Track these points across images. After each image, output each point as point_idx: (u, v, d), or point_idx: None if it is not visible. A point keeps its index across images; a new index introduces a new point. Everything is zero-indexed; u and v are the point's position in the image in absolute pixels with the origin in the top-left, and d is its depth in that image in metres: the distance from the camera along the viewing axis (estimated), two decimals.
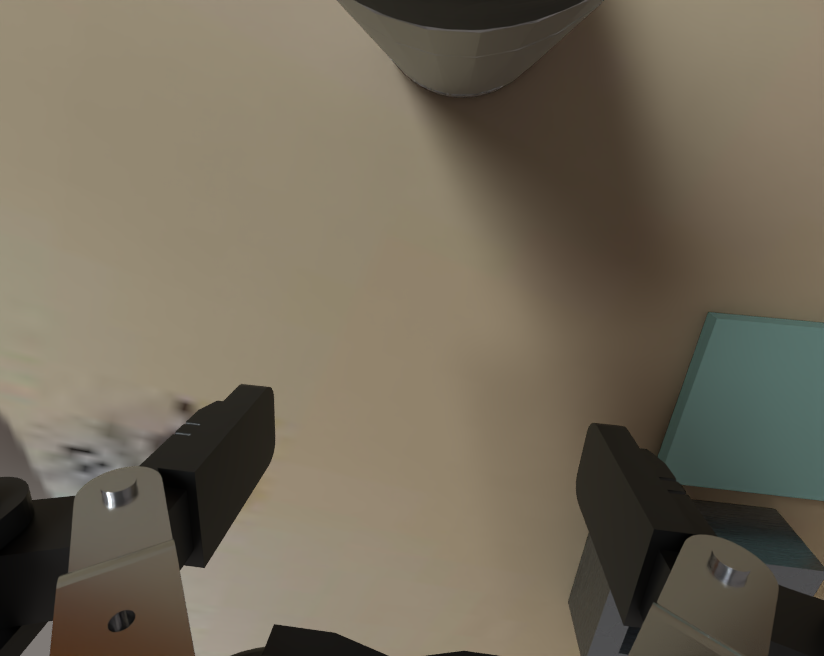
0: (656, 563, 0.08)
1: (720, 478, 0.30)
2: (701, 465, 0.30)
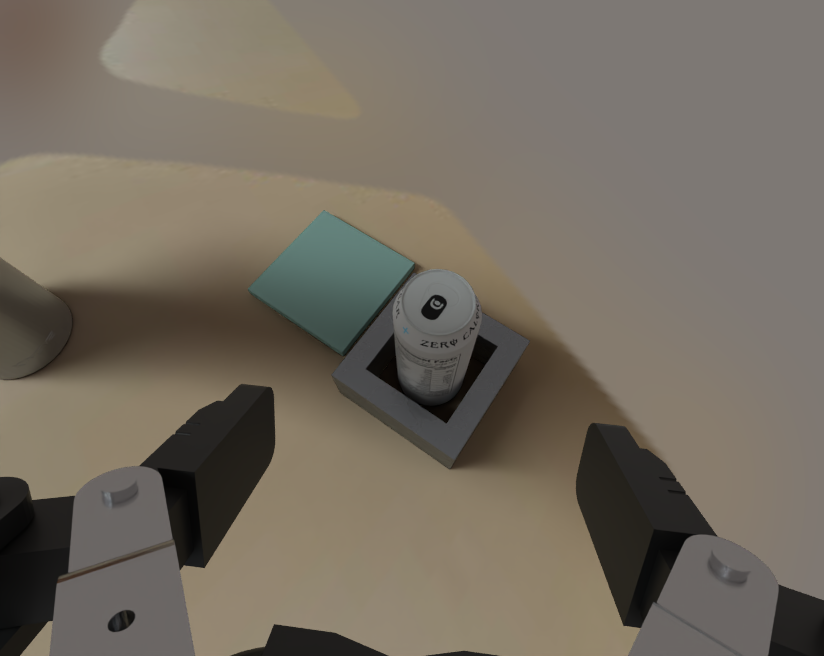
0: (656, 563, 0.08)
1: (359, 317, 0.44)
2: (342, 324, 0.44)
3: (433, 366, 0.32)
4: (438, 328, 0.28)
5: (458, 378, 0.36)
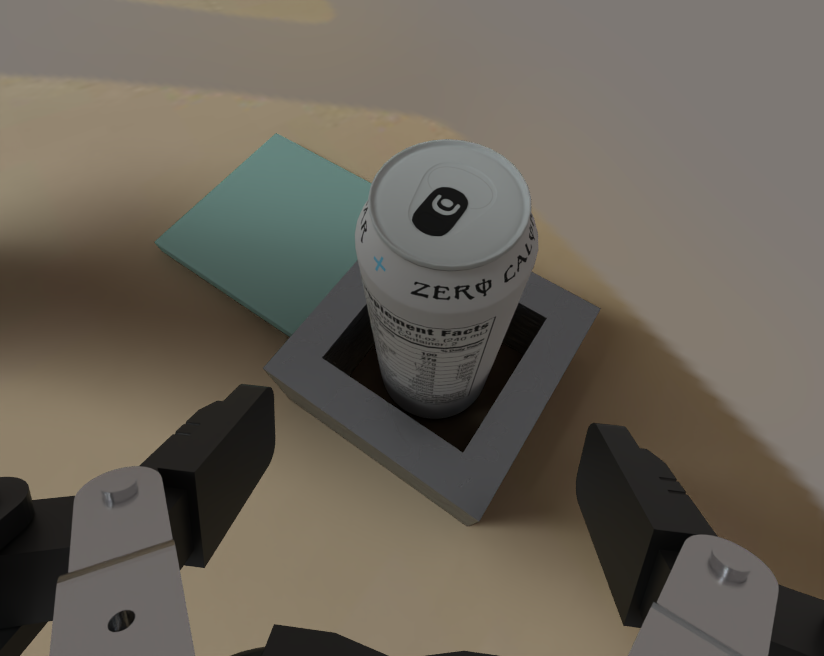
0: (656, 563, 0.08)
1: (322, 281, 0.29)
2: (296, 292, 0.28)
3: (439, 343, 0.16)
4: (451, 253, 0.13)
5: (483, 371, 0.20)
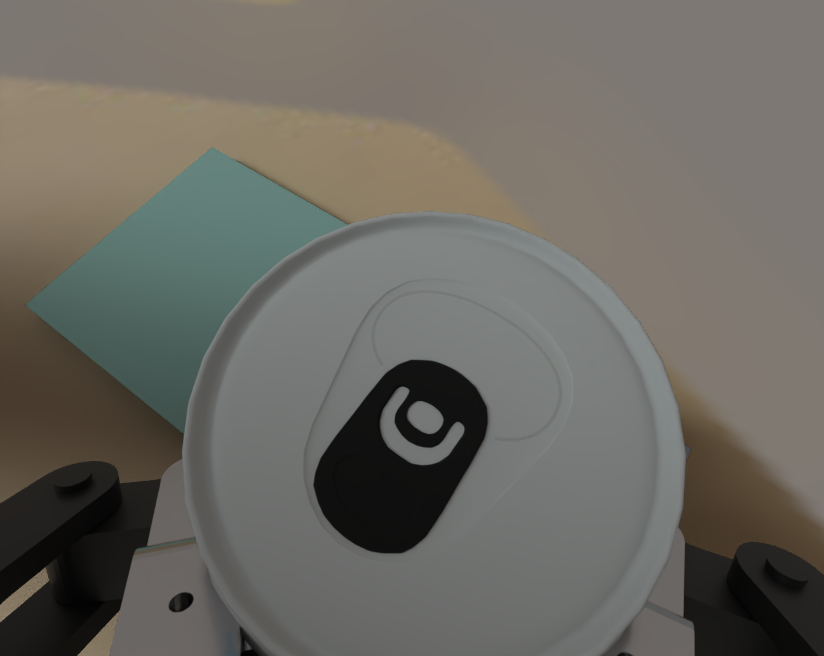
0: None
1: None
2: None
3: None
4: (434, 638, 0.04)
5: None
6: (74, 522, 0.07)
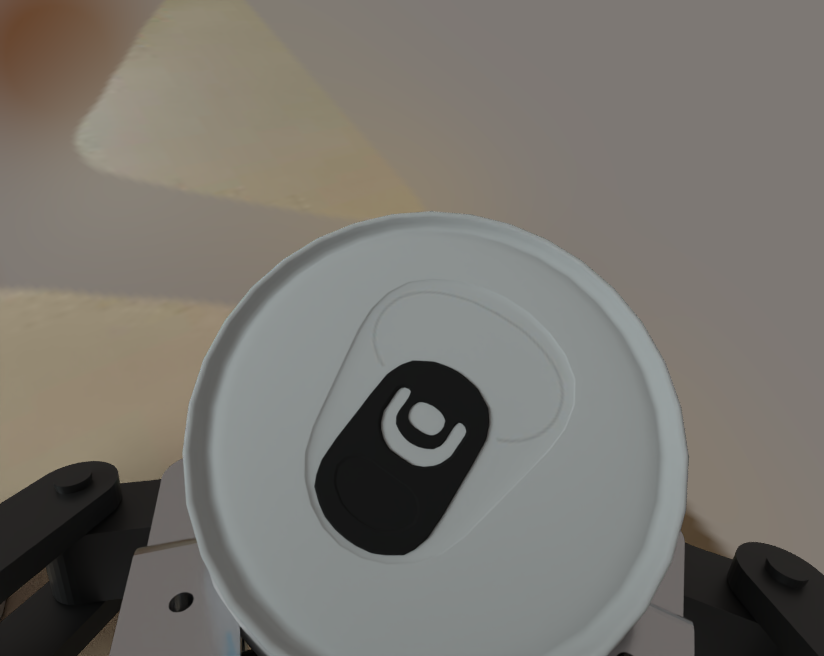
0: None
1: None
2: None
3: None
4: (436, 641, 0.04)
5: None
6: (74, 522, 0.07)
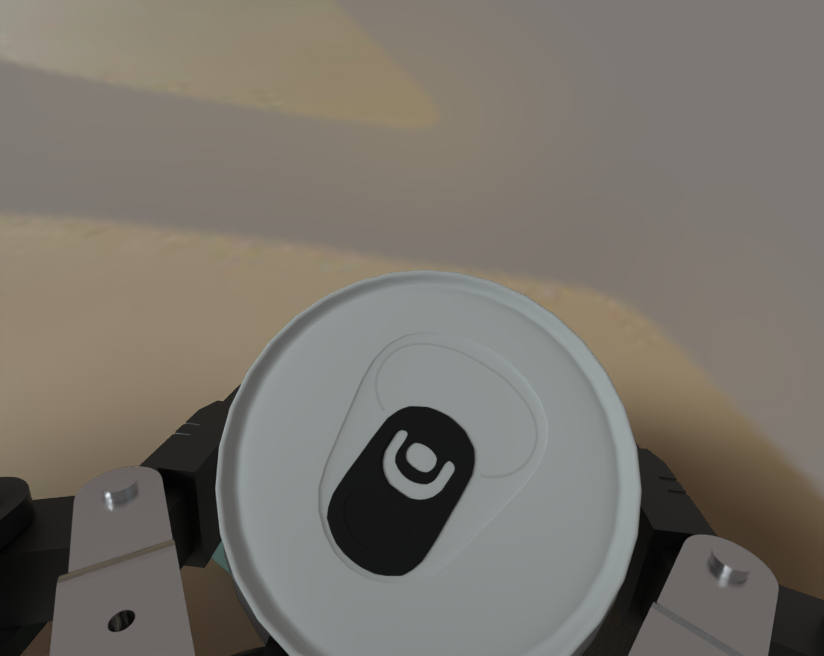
0: (656, 563, 0.08)
1: None
2: None
3: None
4: (429, 647, 0.04)
5: None
6: None
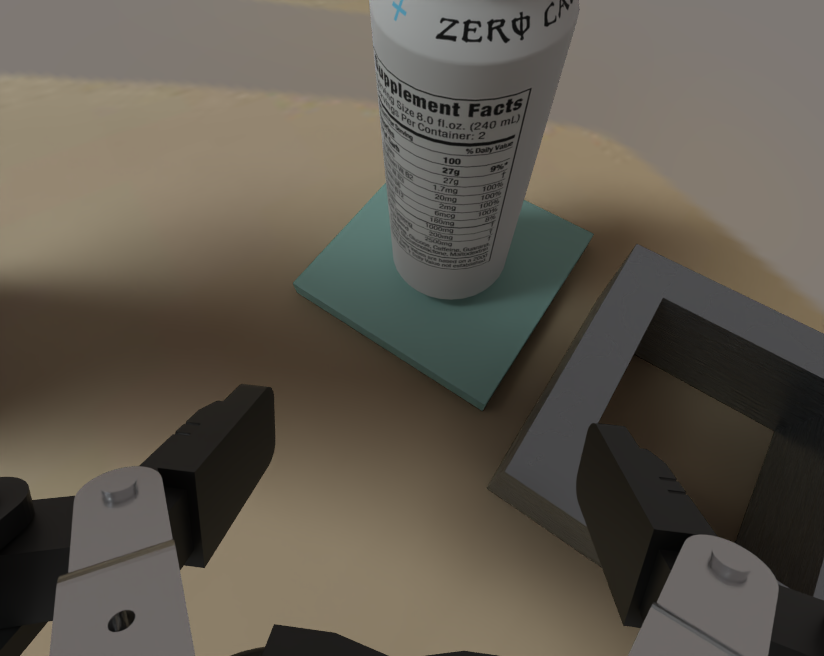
0: (656, 563, 0.08)
1: (509, 334, 0.23)
2: (478, 348, 0.23)
3: (465, 135, 0.14)
4: None
5: (507, 218, 0.18)
6: None
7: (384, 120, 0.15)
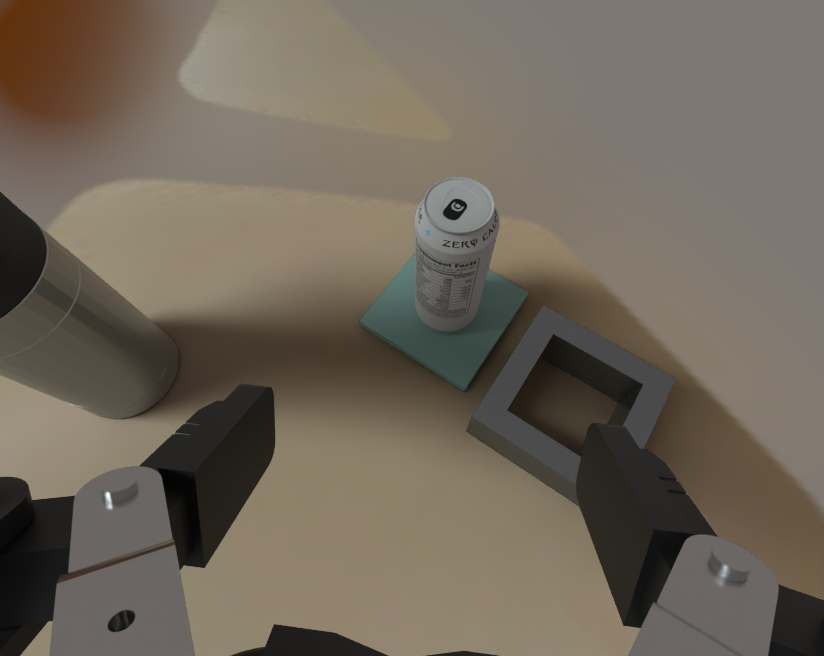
0: (656, 563, 0.08)
1: (479, 350, 0.43)
2: (462, 358, 0.42)
3: (453, 272, 0.33)
4: (460, 227, 0.30)
5: (475, 296, 0.38)
6: None
7: (418, 259, 0.35)
